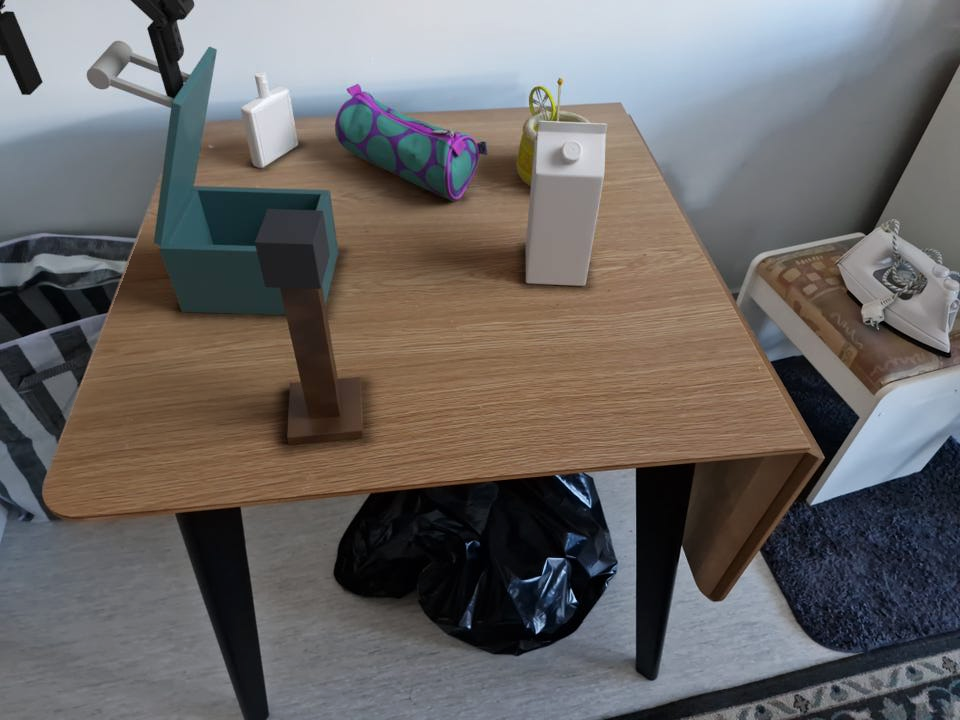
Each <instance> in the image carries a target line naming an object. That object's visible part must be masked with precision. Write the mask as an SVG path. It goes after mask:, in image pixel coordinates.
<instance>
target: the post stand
mask: <svg viewBox="0 0 960 720" xmlns="http://www.w3.org/2000/svg"><path fill="white" fill-rule="evenodd" d="M280 291H281V296H282V300H283V305H284V309H285V314H286V315H285V318H286V321H287V327H288V331H289V335H290V341H291V344H292V345H291V346H292V350H293V353H294V358H295V362H296V367H297V371H298V375H299V379H300V381H298V382H297V381H296V382H290V383H289V392H288V393H289V394H288V395H289V396H288V413H287V414H288V415H287V431H286V439H287V442H288V445H289V446H292V445H302V444H304V445H305V444H315V443H323V442H336V441H346V440H357V439H363V438H364V420H363V395H362V394H363V393H362V392H363V391H362V380H361V376H356V377H344V378H343V377H342V378H339V377H338V371H337V365H336V359H335V352H334V347H333V343H332V336H331V330H330V324H329V320H328V313H327V312H328V311H327V306H326V305H325V300H324V294H323V288H322V287H321V289H304V288H280Z"/></svg>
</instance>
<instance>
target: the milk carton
mask: <svg viewBox="0 0 960 720" xmlns="http://www.w3.org/2000/svg"><path fill="white" fill-rule="evenodd" d="M607 129H608V124H607V123H601V122H590V123H582V122H559V121H539V122H538V131H537V135H536V138H535V146H534V158H533V169H532V180H531V186H530V194H529V205H528V215H527V226H526V237H525V283H526V284H533V285H534V284H536V285H554V286H555V285H557V286H558V285H559V286H578V287H579V286H581V287H583V286H584V287H585V286H586V284H587V279H588V273H589V268H590V261H591V255H592V251H593V243H594V237H595V231H596V226H597V220H598V214H599V209H600V208H599V207H600V203H601V197H602V191H603V186H604V185H603V184H604V178H605V168H606V167H605V163H606V141H607V140H606V139H607V138H606V137H607Z"/></svg>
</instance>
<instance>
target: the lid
mask: <svg viewBox="0 0 960 720" xmlns="http://www.w3.org/2000/svg"><path fill="white" fill-rule="evenodd" d="M217 53H218V50H217V48H214V47H212V46H208V47H207V49H206V50H205V51H204V54H203V55H202V56H201V58H200V60H198V62H197V64H196V65H195V67H194V68H193V69H192V72H190V73H187V72H184V71H182V70H180V71H181V75H182V79H183V82H184V85H183V86H182V88H181V89H180V91H179V92H178V94H177V95H176V97H175V98H171V97H169V96H167V94H163V93H160V92H158V91H155V90H153V89H150V88H147V87H144V86H142V85H140V84H136V83H133V82H131V81H128V80H125V79H123V78H120V77H118V76H119V75H120V74H121V73H122V72H123V70H124V69H125V68H126V67H127V65H129V63H131V64H133V65H136V66H139V67H142V68H144V69H147V70H149V71H152V72H155V73H158V74H160V71H159V67H158V64H157V60H153V59H150V58H148V57H146V56H142V55H140V54H138V53H135V52H133V50H132V48H131V46H130V45H129V44H128V43H126V42H124V41H122V40H115V41H113V42H112V43H111V44H110V45H109V46H108V47H107V49H105V51H104V52H103V53H102V54H101V55H100V56H99V57H98V58H97V59H96V61H94V63H93V64H92V65H91V66H90V68H89V69H88V70H87V71H86V79H87V81H88V82H89V84H90V85H91V86H92V87H94V88H95V89H98V90H106V89H108V88H110V87H112V88H115V89H118V90H121V91H124V92H126V93H128V94H132V95H134V96H137V97H139V98H142V99H145V100H147V101H151V102H153V103H156V104H159V105H161V106H164V107H167V108H169V109H170V114H169V121H168V129H167V137H166V145H165V153H164V160H163V167H162V169H163V170H162V175H161V184H160V191H159V198H158V206H157V212H156V213H157V215H156V222H155V229H154V238H153V244H155V245H158V246H160V245H162V243H163V242H164V240H165V238H166V236H167V234H168V232H169V230H170V228H171V227H172V225H173V223H174V221H175V219H176V217H177V215H178V213H179V211H180V210H181V208H182V206H183V204H184V202H185V200H186V198H187V196H188V195H189V193H190V191H191V189H192V187H193V186H195V183H196V178H197V170H198V164H199V160H200V159H199V158H200V153H201V146H202V141H203V135H204V129H205V125H206V124H205V123H206V119H207V118H206V117H207V111H208V105H209V99H210V93H211V88H212V82H213V76H214V70H215V64H216V58H217Z"/></svg>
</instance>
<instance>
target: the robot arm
mask: <svg viewBox="0 0 960 720" xmlns="http://www.w3.org/2000/svg"><path fill="white" fill-rule="evenodd" d="M130 1H131V2H132V3H133V4H134V5H135V6H136V7H137V8H138V9H139V10H140V11H141V12H143V13H144V14H145V15H146V16H147V17H148V18H149V19H150V20H151V21H152V22H151V23H150V24H148V26H147V28H146V29H147V33H148V37H149V40H150V43H151V46H152V50H153V53H154V57H155V61H156V62H157V64H158V67H159V71H160V73H159V74H160V77H161V80H162V84H163V87H164V91H165V95H166V96H169V97H171V98H175V97H176V95H177V94H178V92H179V91H180V89H181V88H182V86H183V85H184V82H183V79H182V75H181V71H182V70H181V68H180V64H179V62H180V60H181V59H182V58H183V56H184V54H185V47H184V44H183V40H182V36H181V32H180V28H179V24H178V21H183V20H185V19H186V18H187V17H188V15H189V14H190V13H191V12H192V11H193V9H195V0H130ZM5 2H6V0H0V56H4V58H5V60H6V62H7V64H8V66H9V68H10V70H11V73H12V75H13V77H14V80H15V83H16V84H17V87H18V89H19V91H20V93H21V95H22V96H31V95H32V94H33V93H34V92H35V91H36V90H37V89H38V88H39V87H40V86H41V85H42V84H43V83H44V81H43V78H42V77H41V74H40V72H39V69H38V67H37V64H36V62H35V60H34V57H33V55H32V52H31V50H30V48H29V45H28V43H27V41H26V39H25V36H24V33H23V31H22V29H21V26H20V24H19V21H18V19H17V17H16V14H15V12H14V11H12V10H11V11H9V10H6V11H3V12H2V10H3V9H4V8H5V7H6V6H7V5H6V4H5Z"/></svg>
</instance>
